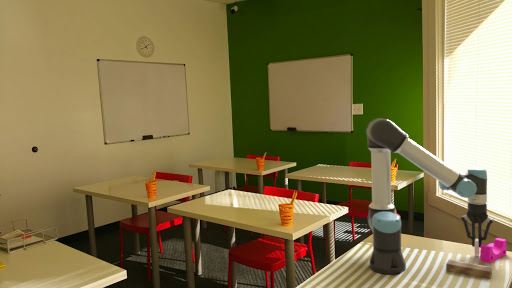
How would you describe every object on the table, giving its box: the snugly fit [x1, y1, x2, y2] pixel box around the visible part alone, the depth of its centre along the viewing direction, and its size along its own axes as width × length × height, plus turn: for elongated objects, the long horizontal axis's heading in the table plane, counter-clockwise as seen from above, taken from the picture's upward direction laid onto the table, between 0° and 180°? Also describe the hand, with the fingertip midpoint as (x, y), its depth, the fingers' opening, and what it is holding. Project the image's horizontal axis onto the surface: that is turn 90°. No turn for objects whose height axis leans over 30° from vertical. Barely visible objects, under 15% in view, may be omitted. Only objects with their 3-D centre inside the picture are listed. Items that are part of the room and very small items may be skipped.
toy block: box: [479, 237, 507, 264], centre depth 180 cm, size 15×6×8 cm, turn 124°
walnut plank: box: [445, 259, 493, 280], centre depth 165 cm, size 16×5×3 cm, turn 52°
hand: (476, 253), depth 182 cm, fingers closed
